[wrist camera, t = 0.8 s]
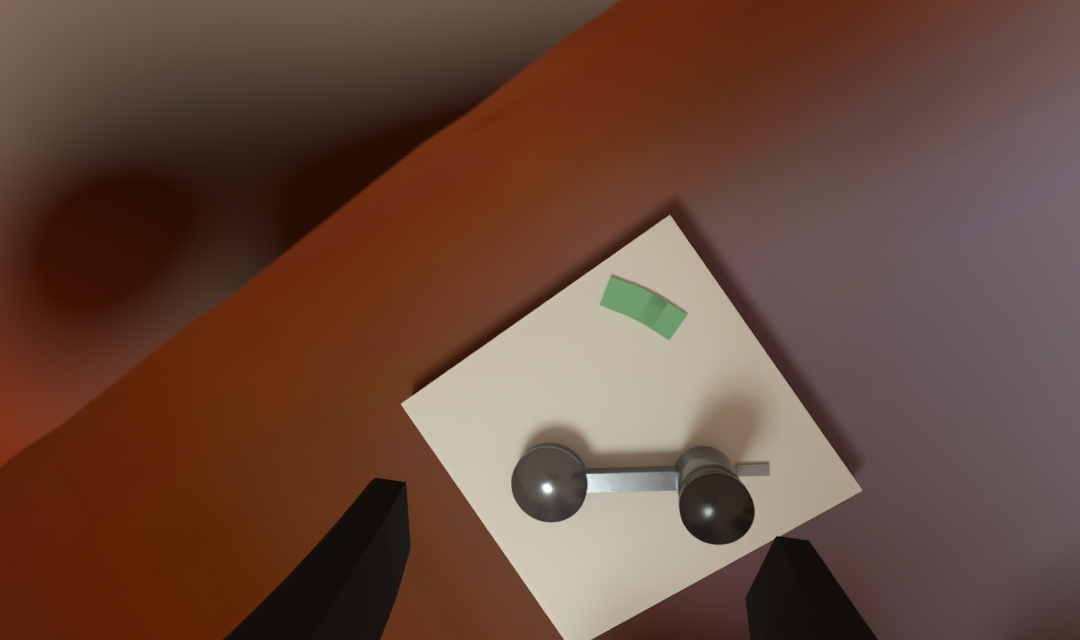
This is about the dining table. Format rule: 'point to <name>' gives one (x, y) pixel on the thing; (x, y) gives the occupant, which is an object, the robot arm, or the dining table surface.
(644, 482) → the dark grey elongated piece
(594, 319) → the dial board
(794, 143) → the dining table surface
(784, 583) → the robot arm
